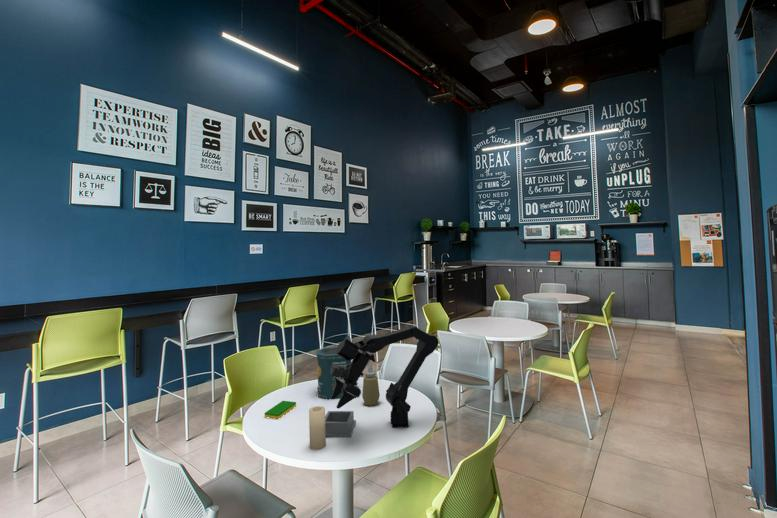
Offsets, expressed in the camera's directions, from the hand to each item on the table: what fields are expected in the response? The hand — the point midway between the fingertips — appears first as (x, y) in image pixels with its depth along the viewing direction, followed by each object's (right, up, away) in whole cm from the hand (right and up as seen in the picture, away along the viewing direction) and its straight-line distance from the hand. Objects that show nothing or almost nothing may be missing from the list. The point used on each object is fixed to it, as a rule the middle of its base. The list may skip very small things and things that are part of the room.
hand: (334, 403), depth 134 cm
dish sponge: (-27, -14, +24) cm, 39 cm away
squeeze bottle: (+12, -13, +30) cm, 35 cm away
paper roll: (-5, -13, -6) cm, 15 cm away
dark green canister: (-7, -13, +44) cm, 47 cm away
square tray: (+1, -13, +6) cm, 14 cm away
